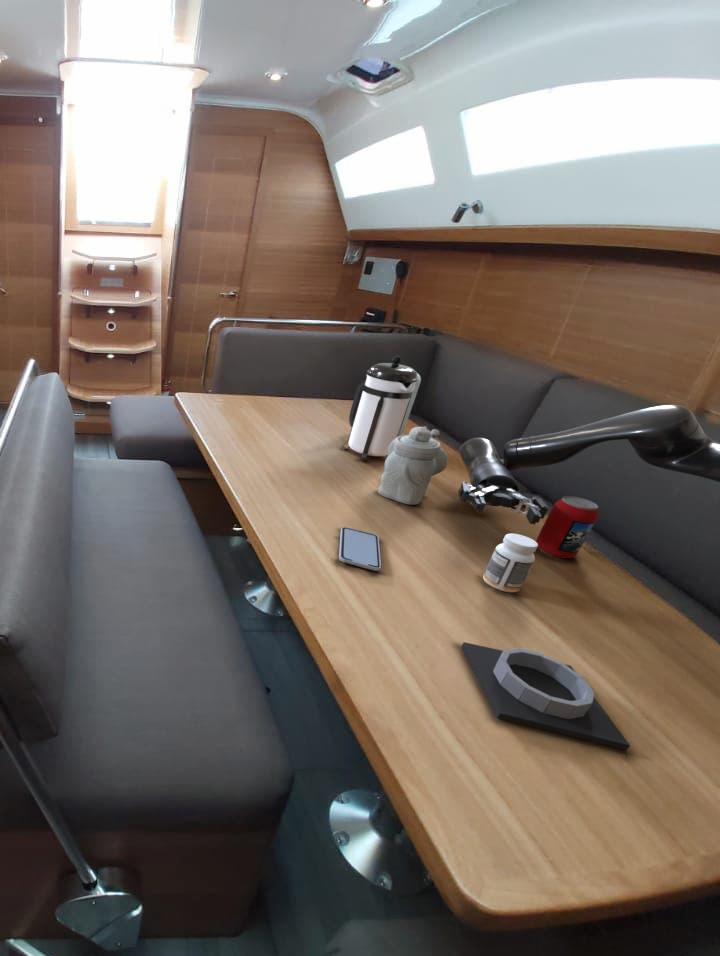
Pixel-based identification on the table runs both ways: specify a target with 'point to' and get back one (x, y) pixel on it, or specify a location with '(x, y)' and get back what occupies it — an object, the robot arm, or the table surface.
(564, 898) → the table surface
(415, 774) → the table surface
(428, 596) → the table surface
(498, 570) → the pill bottle
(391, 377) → the coffee press
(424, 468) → the grey sculpted cookie jar
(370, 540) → the smartphone
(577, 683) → the dock
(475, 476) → the robot arm
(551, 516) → the beverage can
